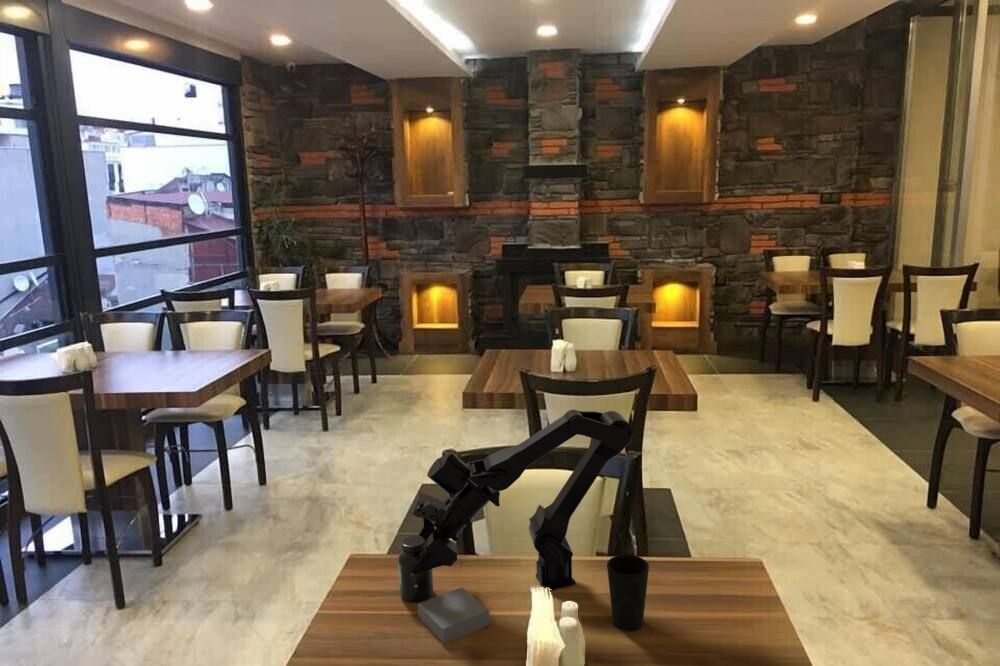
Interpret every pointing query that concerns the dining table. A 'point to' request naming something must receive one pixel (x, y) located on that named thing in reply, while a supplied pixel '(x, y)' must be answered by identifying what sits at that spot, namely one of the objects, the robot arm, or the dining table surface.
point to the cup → (627, 590)
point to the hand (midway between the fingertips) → (412, 561)
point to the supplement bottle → (410, 584)
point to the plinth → (453, 615)
